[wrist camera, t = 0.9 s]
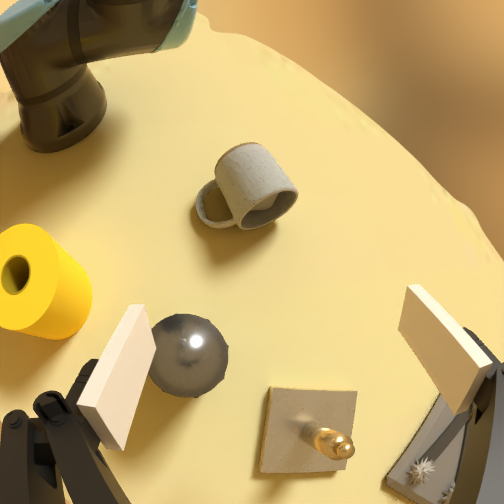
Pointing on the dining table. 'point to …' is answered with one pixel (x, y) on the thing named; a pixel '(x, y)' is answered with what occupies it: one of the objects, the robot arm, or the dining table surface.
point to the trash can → (188, 355)
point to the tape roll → (41, 285)
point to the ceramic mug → (249, 188)
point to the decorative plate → (433, 457)
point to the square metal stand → (307, 430)
